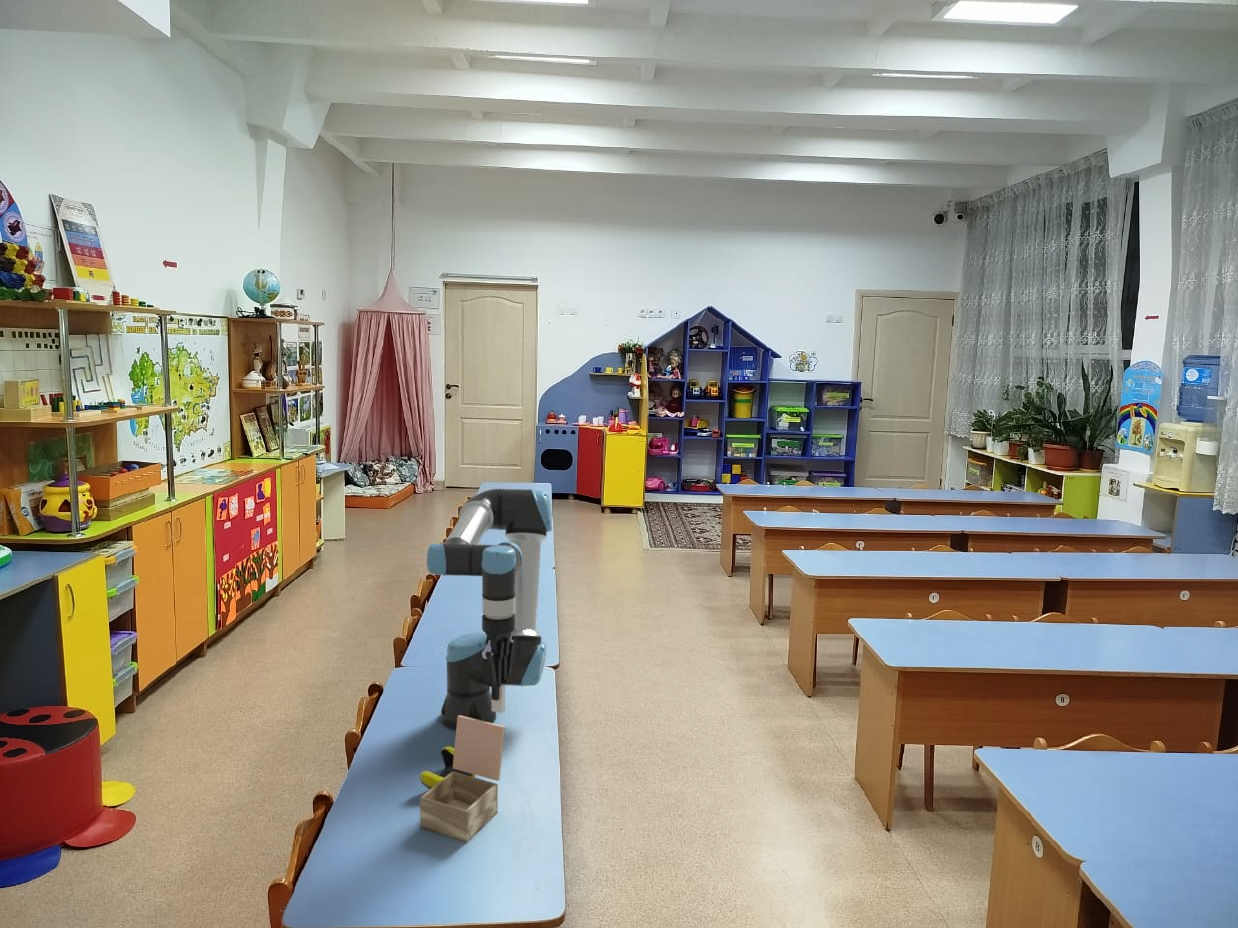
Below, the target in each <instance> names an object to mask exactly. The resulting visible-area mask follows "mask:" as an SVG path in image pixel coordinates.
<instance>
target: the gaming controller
mask: <svg viewBox="0 0 1238 928" xmlns="http://www.w3.org/2000/svg"><path fill="white" fill-rule="evenodd" d="M454 749H455V747H452V746H448V745H447V746H445V747H443V748H442V749H441V751H440V756H441V759H442V761H443V766H444V769H443V770H442V772H441V773H440V774H435V773H432V772H430V771H427V770H425V771H422V772H421V773H420V779H419V780H420V782H421V784H422V785H423V786H424V787H426V788H427V789H428V790H430V789H431V788H433V787H434V786H435V785H436V784H438V783H439V782H440V781H441V780H442V779H444V778H445V777H446V776H447V775H449V774H450V773H451V772H452V771H453V772H457V773H460V774H464V775H467V776H471V777H474V778H476V775H475V774H471V773H468V772H464V771H460V770H457V769H453V759H454Z"/></svg>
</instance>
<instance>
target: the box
mask: <svg viewBox="0 0 1238 928" xmlns="http://www.w3.org/2000/svg"><path fill="white" fill-rule="evenodd" d="M498 785H499V784H498V783H495V782H492V781H487V780H485V779H480V778H478V777H475V778H474V777H471V776H467V775H464V774H460V773H457V772H453V771H452V772H451V773H450V774H449V775H447V776H446V777H445V778H444V779H442V780H441V781H440V782H439V783H438V784H436V785H435V786H434V787H433V788H431V789H428V791H426V792H425V793H424V794H422V795H421V796H420V798H419V817H420V819H419V820H420V821H419V822H420V823H419V826H420V827H419V828H420V829H424V830H427V831H429V832H433V833H436V834H439V835H442V836H446V837H449V838H452V839H455V840H458V841H461V842H464V843H468V842H470V840H471V839H473V838H474V836H475V835H476V834H478V833H479V832H480V831H481V830H482V829H483V828H484V827H485V826H486V825H487V823H489V822H490V821H491V820H492V819H493V818H494V817H495V816H496V815H497V814H498V805H499V804H498V802H499V800H498V794H499V793H498V792H499V791H498Z"/></svg>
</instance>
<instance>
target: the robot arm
mask: <svg viewBox="0 0 1238 928" xmlns="http://www.w3.org/2000/svg"><path fill="white" fill-rule="evenodd" d="M490 530H497V531H501V530H502V531H505V534H504V535H505V538H506V539H507V541H503V542H499V543H498V544H479V543H480V541H481V539H482V537H483V535H484V533H486V532H487V531H490ZM552 530H553V515H552V506H551V499H550V496H549V493H548V492H547V491H545V490H541V489H533V488H532V489H525V488H524V489H522V488H521V489H519V488H518V489H514V488H511V489H509V488H492V489H491V488H490V489H487V490H484V491H482V492H480V493H478V494H476V495H474V496H472V497H471V498H469V499H468V500H466V502H465V503H464V504H463V505H462V507H461V509H460V511H459V514H458V520H457V522H456V523H455V525H454V527H453V529H452V530H451V532H450V534H449V535H448V537H447V538H446V540H445V542H444V543H443V542H439V543H431V544H430V545H429V547H428V549H427V553H426V566H427V571H428V573H429V574H431V575H436V576H437V575H439V576H442V577H445V576H456V577H459V576H462V577H463V576H465V577H466V576H467V577H469V576H470V577H471V576H472V577H481V584H482V586H481V587H482V588H481V589H482V590H481V591H482V592H481V593H482V595H481V596H482V598H481V600H482V603H481V604H482V605H481V608H482V609H481V610H482V611H481V612H482V616H481V629H482V631H483V632H471V633H470V632H469V633H466V634H465V633H464V634H462V635H459V636H456V637H455V638H453V639H452V640H450V642H449V643H448V645H447V649H446V657H445V661H446V695H445V698H444V700H443V704H442V707H441V711H440V721H441V724H442V725H443V726H445V727H446V728H448V729H451V730H455V731H456V728H457V717H458V716H459V715H461V716H465V717H469V718H473V719H477V720H481V721H485V722H489V723H493V724H494V722H495V721H496V719H497V713H498V714H503V713H504V712H505V711H506V686H519V687H525V686H526V687H527V686H528V687H529V686H532V687H533V686H536V685H538V684H539V683H540V682H541V679H542V675H543V671H544V667H545V662H546V657H547V643H546V642H544V641H542V635H541V634H540V632H539V631H538V629H537V626H538V625H537V624H538V622H537V620H538V606H539V605H538V603H539V600H538V599H539V583H540V564H541V545H542V543H543V541H545V540H546V539H547V534H548V532H549V533H550V532H551V531H552Z"/></svg>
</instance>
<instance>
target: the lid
mask: <svg viewBox="0 0 1238 928" xmlns="http://www.w3.org/2000/svg"><path fill="white" fill-rule="evenodd" d="M505 730H506V726H505V725H500V724H498V723H494V722H493V723H489V722H485V721H481V720H477V719H473V718H469V717H465V716H461V715H459V716H458V717H457V728H456V730H455V739H454V741H455V742H454V759H453V769H457V770H460V771H464V772H468V773H471V774H475V776H479V777H483V778H486V779H489V780H493V781H496V782H498V781H500V780H501V768H502V767H501V766H502V758H503V751H504V750H503V747H504V737H505V733H506V731H505Z"/></svg>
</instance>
